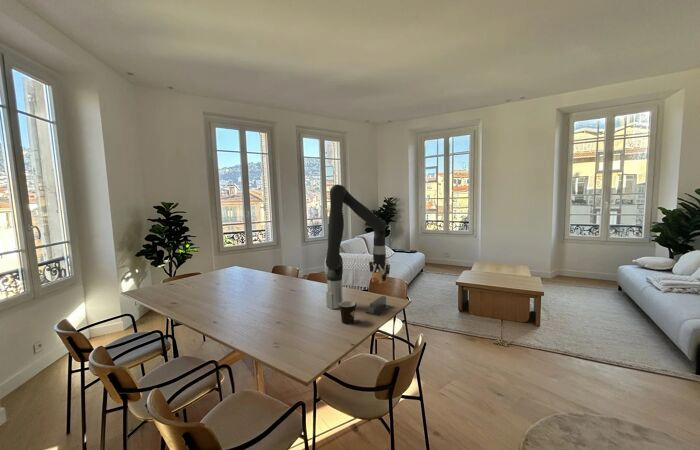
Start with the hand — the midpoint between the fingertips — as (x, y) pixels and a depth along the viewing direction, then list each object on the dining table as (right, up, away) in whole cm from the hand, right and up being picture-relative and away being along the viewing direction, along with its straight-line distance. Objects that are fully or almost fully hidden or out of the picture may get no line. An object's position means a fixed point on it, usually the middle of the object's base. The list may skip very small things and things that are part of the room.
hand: (379, 279), depth 184 cm
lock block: (0, -1, 0) cm, 1 cm away
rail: (-1, -18, -2) cm, 18 cm away
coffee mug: (-18, -20, -18) cm, 32 cm away
